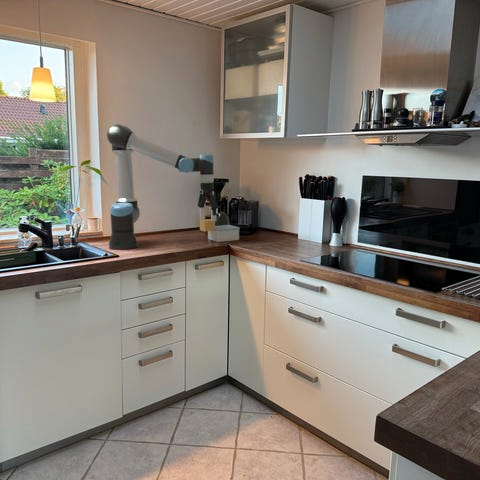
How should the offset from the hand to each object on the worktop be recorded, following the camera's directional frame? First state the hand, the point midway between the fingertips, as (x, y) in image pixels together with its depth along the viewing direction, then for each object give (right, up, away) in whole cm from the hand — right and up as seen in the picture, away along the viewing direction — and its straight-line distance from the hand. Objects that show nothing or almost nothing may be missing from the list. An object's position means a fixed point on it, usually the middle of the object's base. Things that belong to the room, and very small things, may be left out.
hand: (207, 220), depth 249 cm
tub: (+8, -12, +8) cm, 16 cm away
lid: (+6, -6, +5) cm, 10 cm away
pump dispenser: (+7, -9, +25) cm, 28 cm away
